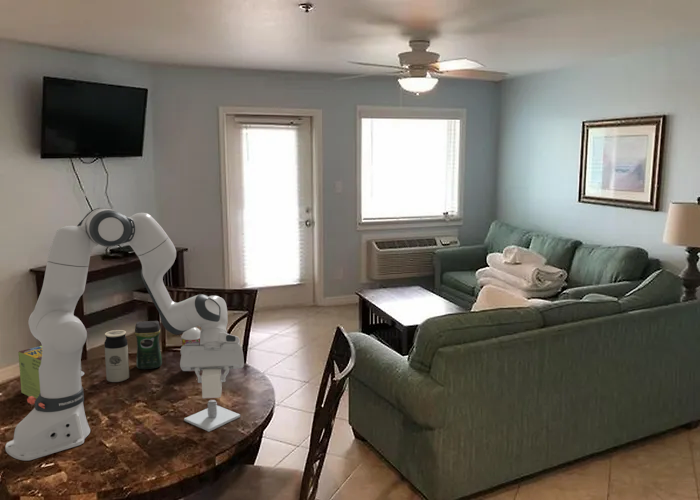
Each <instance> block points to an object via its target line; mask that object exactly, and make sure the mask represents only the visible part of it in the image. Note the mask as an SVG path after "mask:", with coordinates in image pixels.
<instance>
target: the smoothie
mask: <svg viewBox="0 0 700 500" xmlns="http://www.w3.org/2000/svg"><path fill="white" fill-rule="evenodd" d="M200 332H201V329H200V328H198V326H197V327H194V328H191V329H189V330H187V331H185V332H183V333H181V334H182V335H181V337H180V339H181V347H182V346H183V345H185V344H186V343H200Z"/></svg>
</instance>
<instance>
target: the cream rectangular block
mask: <svg viewBox="0 0 700 500" xmlns="http://www.w3.org/2000/svg"><path fill="white" fill-rule="evenodd" d="M221 375H222V369H203V370H202V373H201V376H202V383H201V395H202V396H201V397H202V399H216V398H221V396H222V391H223V389H222V387H223V385H222V383H223V382H221V381H220V378H221Z"/></svg>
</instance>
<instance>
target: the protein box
mask: <svg viewBox="0 0 700 500" xmlns="http://www.w3.org/2000/svg"><path fill="white" fill-rule="evenodd" d="M41 360H42V345H40V346H35V347H30V348H27V349H23V350H19V351H18V363H19V364H18V365H19V378H20V390H21V391H20V392H21V394H24V395H25V396H27V397H28V398H29V397H30V396H33V397H34V398H36V399H37V398H38V396H39V394H40V382H39V367H40V365H41Z"/></svg>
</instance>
